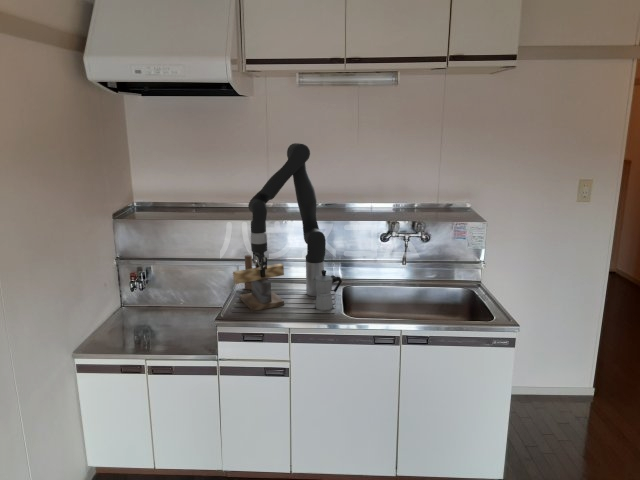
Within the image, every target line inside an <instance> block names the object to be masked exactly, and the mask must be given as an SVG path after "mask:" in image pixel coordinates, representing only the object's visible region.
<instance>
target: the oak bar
mask: <svg viewBox="0 0 640 480" xmlns="http://www.w3.org/2000/svg"><path fill="white" fill-rule="evenodd" d="M263 267H264V266H263ZM284 269H285V268H284V265H283V263H275V264H269V265H267V269H265V277H263V278H261V276H260V267H258V268H256V267H254V268H253V267H252V269H246V270H245V269H241V270H235V271H232V275H233V282H234V284H236V285H238V284H245V282H250V281H255V280H261V279H266V278H267V279H271V278H276V277H281V276H284V275H285V270H284Z"/></svg>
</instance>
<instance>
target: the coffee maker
mask: <svg viewBox="0 0 640 480" xmlns="http://www.w3.org/2000/svg"><path fill="white" fill-rule="evenodd" d="M321 272H322V275H320V276H316V277H315V278H314V279H312V280H310V281H312V282H313V284H314V285H315V287H316V291H317V292H318V293H317V296H315V297H316V298H315V303H314V308H316V310H318V311H321V312H322V311H330V310H332V309H334V304H333V297H332V294H331V292H332V291H333V292H334V293H337V291H338V289H339V287H340V285H341V284H342V282H343V280H342V278H341V277H340V276H335V275H327V270H325V269H324V270H322V271H321ZM337 282H338V283H337ZM334 283H337V284H336V286H335V287H334V289H333V290H332V288H333V284H334Z"/></svg>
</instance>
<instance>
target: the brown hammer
mask: <svg viewBox="0 0 640 480" xmlns="http://www.w3.org/2000/svg"><path fill="white" fill-rule="evenodd" d="M244 266H245V267H244V270H246V269H252V268H253V255H251V254H246V255H244ZM244 289H245V290H250V291H252V284H251V281H250V282H245V283H244Z"/></svg>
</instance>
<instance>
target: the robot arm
mask: <svg viewBox="0 0 640 480" xmlns="http://www.w3.org/2000/svg"><path fill="white" fill-rule="evenodd" d="M286 150H287V151H286V156H287V160H286V162H284V164H283V165H282V167H281V168H280V169H278V170H277V171H276V172H275V173H273V174H272V176H271V177H269V179H268V180H267V182H266V183H265V184H264V185H263V186H262V188H261V189H260V190H259V191H258V192H257V193H255V195H254V196H253V197H251V199H250V201H249V202H248V210H249V211H250V212H251V214H252V219H251V221H250V248H251V250H250V251H251V253H252V264H254V268H258V267H260V276H261V278H263V277H265V269H267V266H268V257H267V256H266V255H265V253H266V252H268V236H267V223H266V222H267V217H268V215H267V214H268V207H267V203H269V201H271V200H273V199H274V198H275V197H276V196H277V194H278V193H280V191H281V190H282V188H283V187H284V186H285V184H286V183H287V182H288V181H289V180H290V178H291V177H292V178H293V185H294V190H295V197H296V202H297V206H298V210H299V214H300V218H301V223H302V232H303V240H304V242H305V244H306V246H307V248H306V251H307V253H306V255H305V282H306V283H305V286H306V287H305V288H306V289H305V292H306V295H307V296H310V297H317V293H318V292H317V291H316V287H315V285H314V284H313V282H312V281H310V280H312V279H314V278H315V277H316V276H320V275H322V272H321V271H322V270H325V257H326V248H327V247H326V236H325V234H324V233H323V232H322V231H321V229H320V227H319V224H318V220H317V208H318V207H317V205H318V204H317V196H316V192H315V187H314V184H313V182H312V180H311V177H310V175H309V174H308V170H307V166H306V165H307V164H306V162H307V161H308V160H310V157H311V150H310V147H308V146H307V145H306V144H304V143H300V142H299V143H298V142H294V143H292V144H290V145H289V146H288V147H287V149H286ZM263 266H264V267H263Z"/></svg>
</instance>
